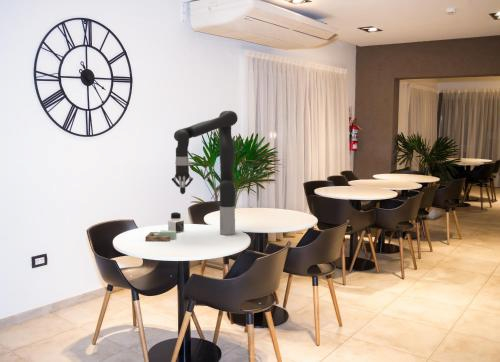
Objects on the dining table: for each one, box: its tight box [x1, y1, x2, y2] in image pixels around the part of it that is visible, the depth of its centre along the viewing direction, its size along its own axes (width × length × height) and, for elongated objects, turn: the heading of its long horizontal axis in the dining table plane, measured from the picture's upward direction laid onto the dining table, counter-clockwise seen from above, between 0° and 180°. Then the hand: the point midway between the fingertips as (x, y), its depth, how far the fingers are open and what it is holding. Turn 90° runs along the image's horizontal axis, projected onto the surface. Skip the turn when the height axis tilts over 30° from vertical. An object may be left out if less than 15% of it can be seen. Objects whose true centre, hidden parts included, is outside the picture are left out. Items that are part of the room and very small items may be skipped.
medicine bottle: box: [167, 211, 185, 234], centre depth 298 cm, size 7×7×12 cm
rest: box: [145, 231, 171, 242], centre depth 279 cm, size 14×13×2 cm
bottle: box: [152, 229, 177, 241], centre depth 279 cm, size 5×5×14 cm
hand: (182, 193), depth 276 cm, fingers closed
